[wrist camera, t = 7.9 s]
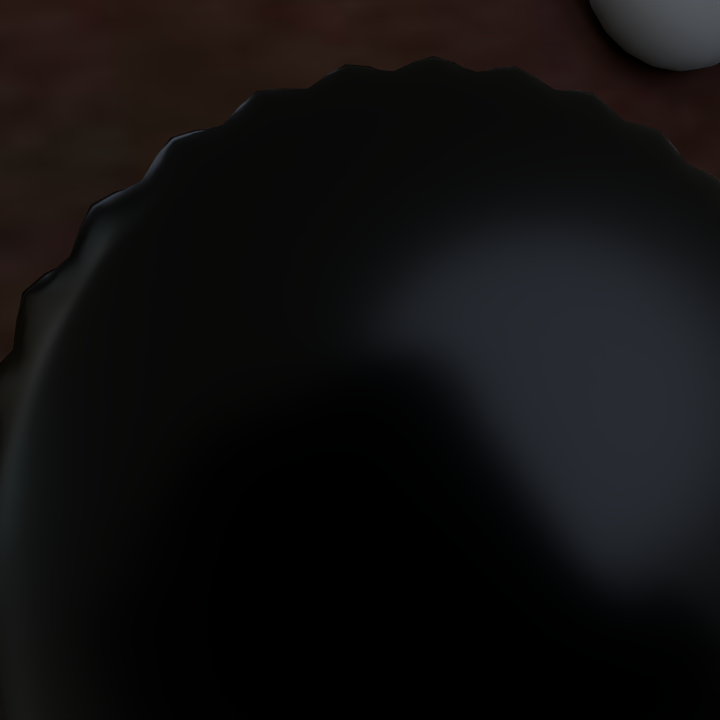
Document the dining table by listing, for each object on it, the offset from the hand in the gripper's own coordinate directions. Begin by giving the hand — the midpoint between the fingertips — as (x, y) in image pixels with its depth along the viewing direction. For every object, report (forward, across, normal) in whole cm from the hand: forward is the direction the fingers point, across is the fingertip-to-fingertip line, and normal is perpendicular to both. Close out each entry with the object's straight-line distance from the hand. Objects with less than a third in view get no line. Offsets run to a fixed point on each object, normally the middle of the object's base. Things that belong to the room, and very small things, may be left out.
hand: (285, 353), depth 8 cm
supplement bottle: (+4, 0, +6) cm, 7 cm away
